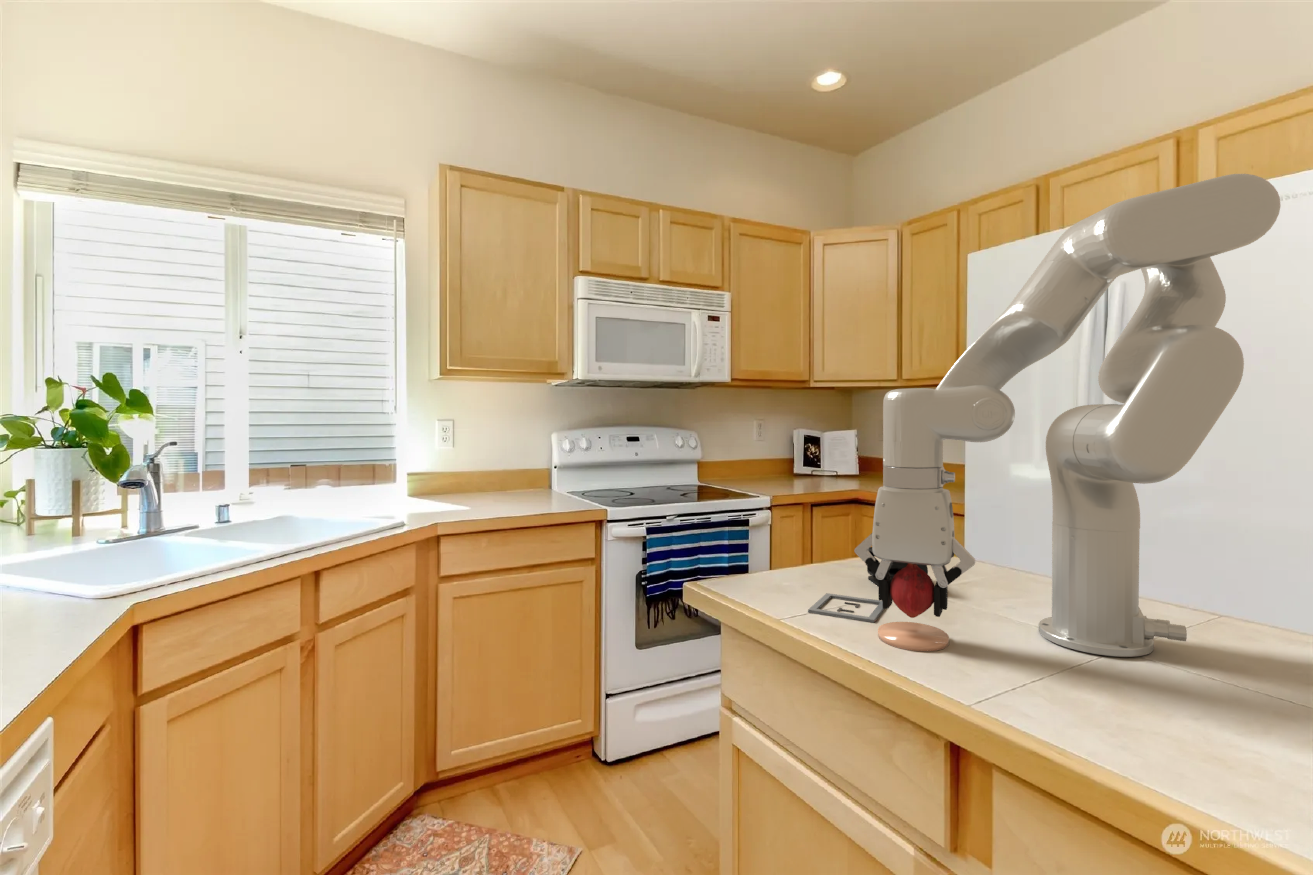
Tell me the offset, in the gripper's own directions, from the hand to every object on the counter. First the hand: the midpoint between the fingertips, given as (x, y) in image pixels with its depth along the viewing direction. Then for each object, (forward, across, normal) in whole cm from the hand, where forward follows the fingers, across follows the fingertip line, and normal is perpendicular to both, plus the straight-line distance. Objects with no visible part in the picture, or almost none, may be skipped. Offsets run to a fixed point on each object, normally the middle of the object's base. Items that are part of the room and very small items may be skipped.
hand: (912, 608), depth 84 cm
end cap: (+4, +7, -26) cm, 27 cm away
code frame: (+4, +11, -9) cm, 15 cm away
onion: (+1, 0, 0) cm, 1 cm away
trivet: (+4, 0, 0) cm, 4 cm away
